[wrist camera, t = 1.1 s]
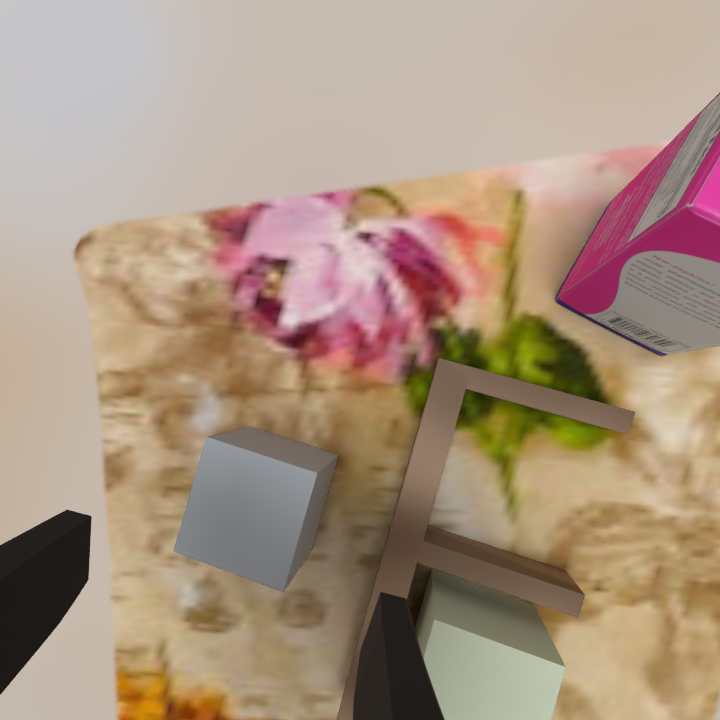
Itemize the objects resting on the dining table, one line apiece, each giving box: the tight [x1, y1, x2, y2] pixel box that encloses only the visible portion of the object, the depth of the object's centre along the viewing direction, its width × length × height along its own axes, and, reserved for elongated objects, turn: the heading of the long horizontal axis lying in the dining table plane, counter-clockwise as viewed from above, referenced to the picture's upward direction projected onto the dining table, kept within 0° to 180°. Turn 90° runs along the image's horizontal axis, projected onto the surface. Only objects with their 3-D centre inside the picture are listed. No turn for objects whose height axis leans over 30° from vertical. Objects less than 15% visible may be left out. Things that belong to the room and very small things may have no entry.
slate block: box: [174, 427, 339, 592], centre depth 21 cm, size 5×5×5 cm
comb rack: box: [337, 358, 635, 720], centre depth 21 cm, size 17×8×2 cm, turn 164°
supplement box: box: [556, 93, 720, 356], centre depth 16 cm, size 6×6×12 cm
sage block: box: [415, 569, 566, 720], centre depth 20 cm, size 5×5×5 cm
